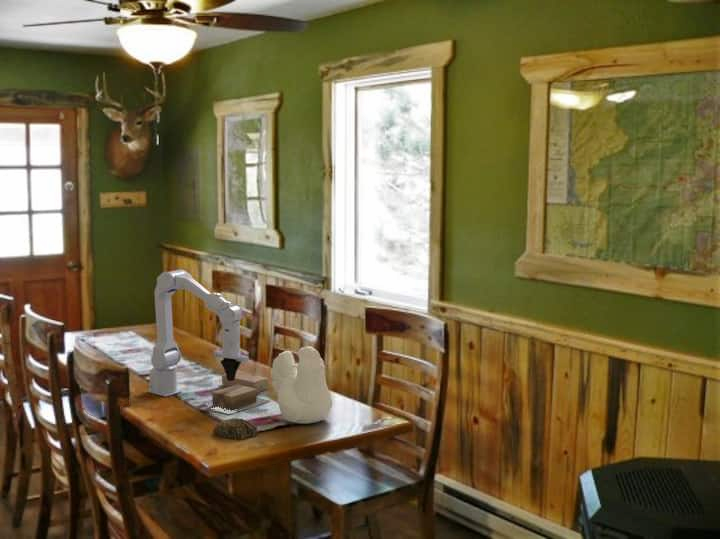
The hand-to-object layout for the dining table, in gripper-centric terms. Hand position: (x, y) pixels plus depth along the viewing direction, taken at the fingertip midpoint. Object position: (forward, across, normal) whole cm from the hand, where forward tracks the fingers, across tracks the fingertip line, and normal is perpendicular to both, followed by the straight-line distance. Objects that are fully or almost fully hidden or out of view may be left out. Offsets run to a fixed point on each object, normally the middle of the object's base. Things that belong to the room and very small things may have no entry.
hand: (230, 380), depth 266 cm
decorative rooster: (+8, -28, -3) cm, 30 cm away
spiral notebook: (+8, -4, 0) cm, 9 cm away
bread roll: (+8, -23, +21) cm, 32 cm away
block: (+6, +3, 0) cm, 6 cm away
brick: (+8, +10, -18) cm, 22 cm away
